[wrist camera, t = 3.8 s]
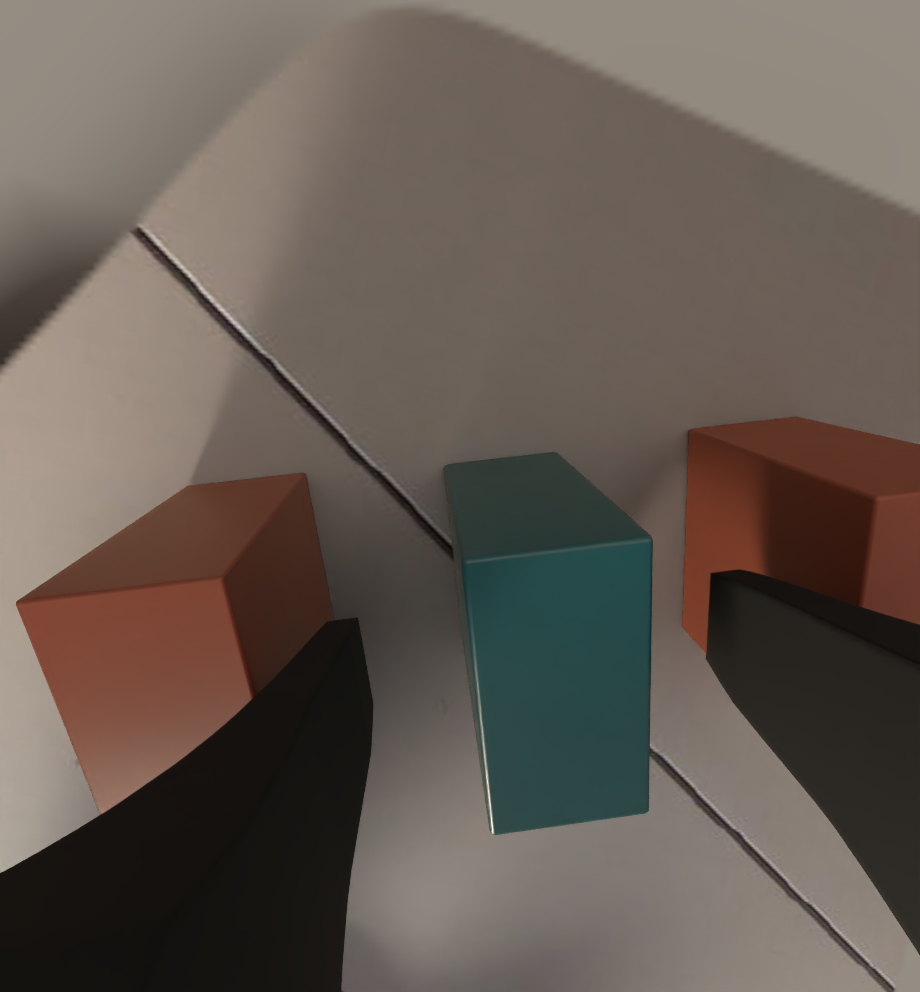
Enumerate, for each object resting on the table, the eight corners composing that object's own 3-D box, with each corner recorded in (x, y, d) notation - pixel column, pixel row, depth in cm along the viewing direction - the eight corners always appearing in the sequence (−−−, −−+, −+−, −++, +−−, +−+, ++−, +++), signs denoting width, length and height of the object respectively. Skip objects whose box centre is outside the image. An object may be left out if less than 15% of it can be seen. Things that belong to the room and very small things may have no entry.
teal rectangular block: (557, 450, 14) (655, 536, 8) (565, 636, 16) (650, 815, 10) (443, 463, 14) (460, 560, 8) (463, 649, 15) (490, 838, 10)
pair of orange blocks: (798, 416, 14) (1059, 474, 8) (778, 614, 16) (981, 775, 10) (186, 485, 13) (13, 601, 8) (240, 684, 15) (132, 898, 9)
